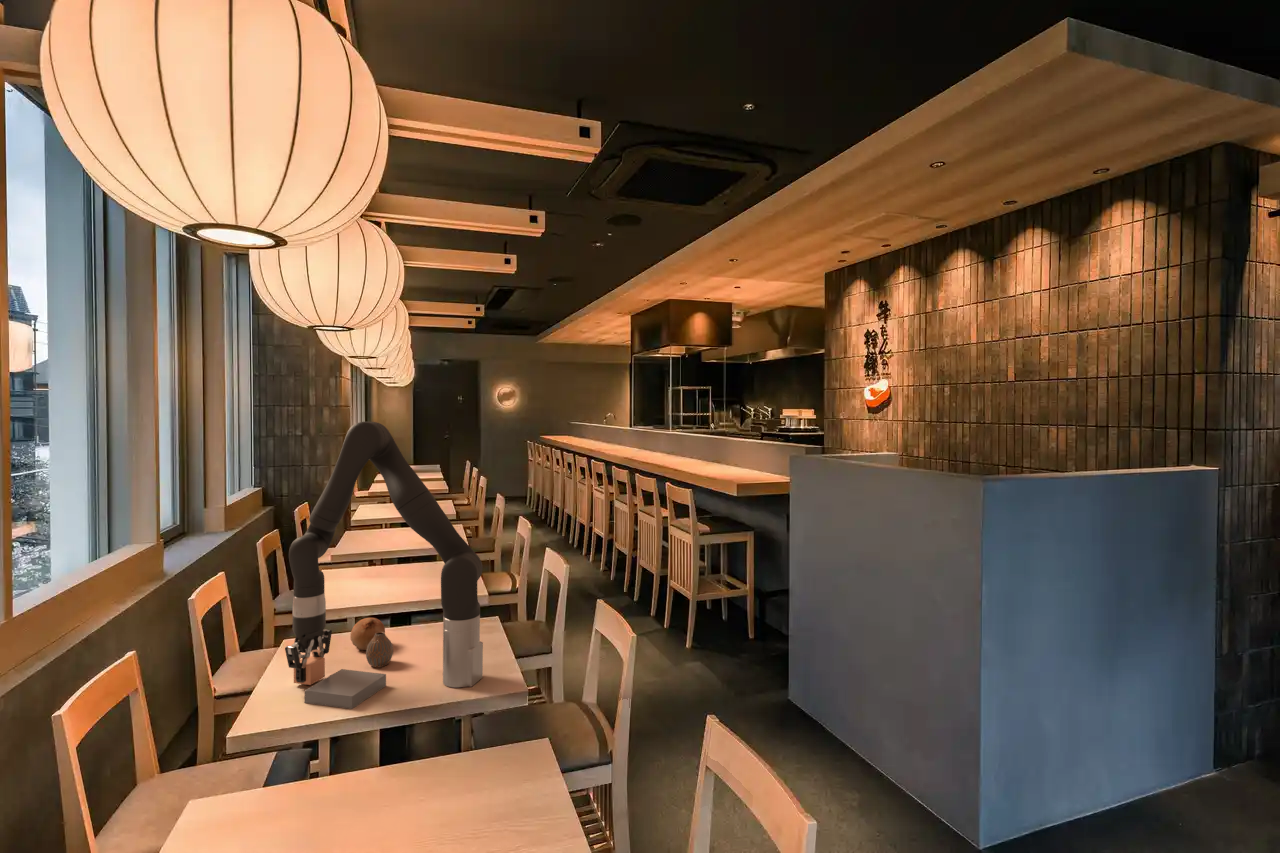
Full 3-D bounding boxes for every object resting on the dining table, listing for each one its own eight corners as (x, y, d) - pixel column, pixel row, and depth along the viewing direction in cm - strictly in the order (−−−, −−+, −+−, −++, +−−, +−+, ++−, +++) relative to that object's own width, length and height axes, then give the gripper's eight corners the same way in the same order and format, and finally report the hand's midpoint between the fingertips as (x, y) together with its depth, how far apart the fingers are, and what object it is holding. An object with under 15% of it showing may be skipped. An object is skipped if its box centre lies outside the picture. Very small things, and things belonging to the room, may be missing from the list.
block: (324, 676, 161) (324, 657, 161) (310, 684, 156) (310, 665, 156) (308, 674, 162) (308, 656, 162) (293, 682, 157) (293, 663, 157)
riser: (386, 685, 158) (386, 674, 158) (351, 709, 145) (352, 696, 145) (341, 680, 161) (341, 669, 161) (304, 702, 148) (304, 690, 148)
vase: (397, 660, 175) (397, 629, 174) (385, 670, 168) (385, 638, 168) (374, 659, 175) (374, 628, 175) (360, 669, 168) (361, 637, 168)
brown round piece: (373, 661, 181) (378, 635, 177) (342, 652, 181) (346, 626, 177) (388, 639, 190) (392, 614, 186) (358, 630, 190) (362, 605, 186)
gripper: (300, 621, 151) (301, 690, 151) (341, 604, 165) (341, 667, 165) (274, 619, 153) (275, 687, 153) (316, 602, 167) (317, 665, 167)
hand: (309, 677), depth 159 cm, fingers closed on block, 5 cm apart
